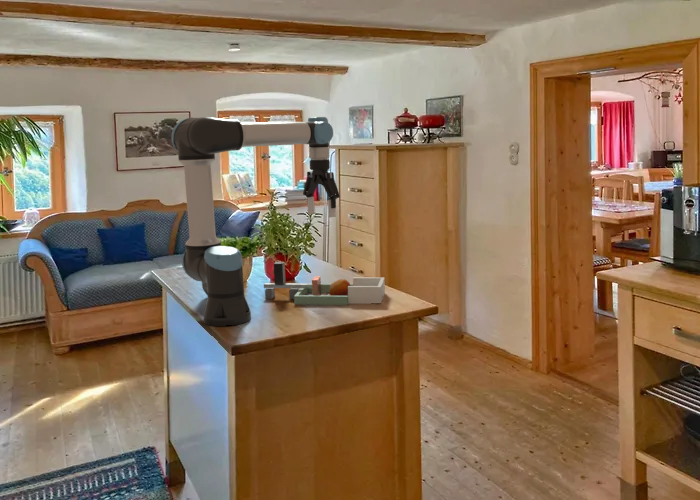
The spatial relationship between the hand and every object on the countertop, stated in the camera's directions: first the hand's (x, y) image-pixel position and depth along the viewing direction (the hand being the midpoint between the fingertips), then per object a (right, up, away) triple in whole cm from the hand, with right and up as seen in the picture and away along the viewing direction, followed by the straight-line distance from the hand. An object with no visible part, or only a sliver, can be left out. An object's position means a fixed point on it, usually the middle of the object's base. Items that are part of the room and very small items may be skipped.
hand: (321, 215), depth 242 cm
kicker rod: (-10, -30, -10) cm, 33 cm away
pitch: (-4, -30, -10) cm, 32 cm away
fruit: (+7, -31, -12) cm, 34 cm away
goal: (+16, -30, -14) cm, 37 cm away
